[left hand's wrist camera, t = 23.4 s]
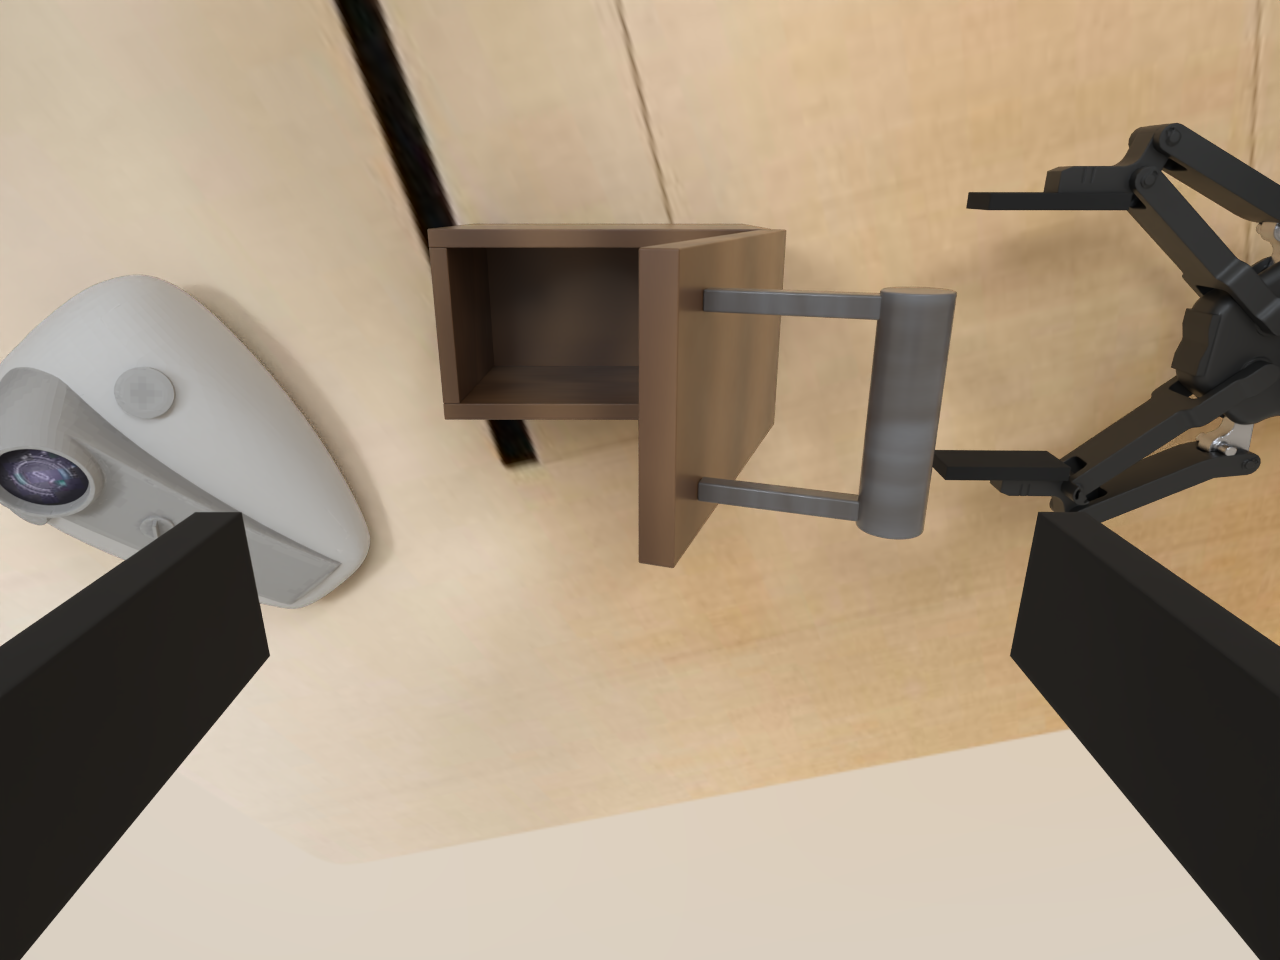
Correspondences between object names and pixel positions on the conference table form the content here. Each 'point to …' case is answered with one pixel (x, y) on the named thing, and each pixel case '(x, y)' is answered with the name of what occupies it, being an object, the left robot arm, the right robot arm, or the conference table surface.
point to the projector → (169, 439)
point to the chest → (544, 316)
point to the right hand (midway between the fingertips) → (955, 341)
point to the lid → (771, 390)
